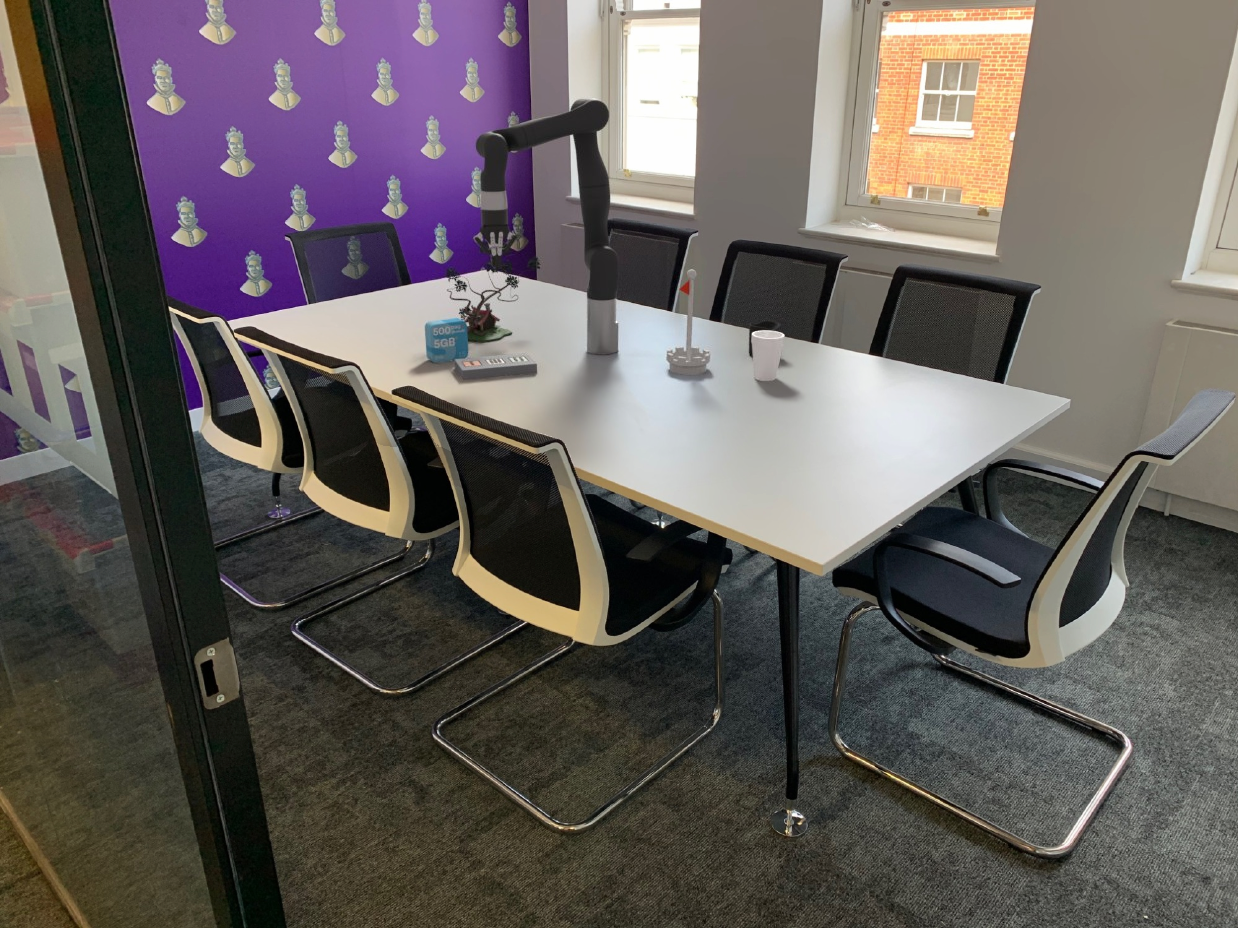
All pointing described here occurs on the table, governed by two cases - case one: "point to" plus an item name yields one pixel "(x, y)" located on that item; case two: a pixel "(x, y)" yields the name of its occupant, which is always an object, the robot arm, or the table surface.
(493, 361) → the button three
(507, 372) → the button panel
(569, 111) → the robot arm
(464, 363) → the button one
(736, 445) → the table surface
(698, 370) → the flag stand
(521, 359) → the button two
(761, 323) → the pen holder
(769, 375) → the foam cup
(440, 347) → the data package
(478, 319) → the bonsai tree
